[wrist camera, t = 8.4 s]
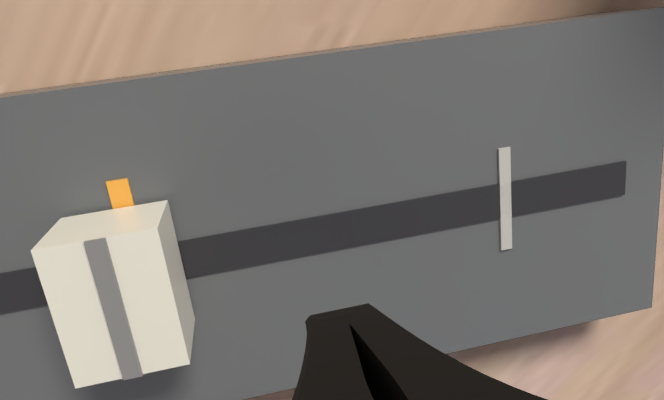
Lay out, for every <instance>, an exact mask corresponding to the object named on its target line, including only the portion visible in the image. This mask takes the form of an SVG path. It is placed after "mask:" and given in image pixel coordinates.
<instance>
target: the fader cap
mask: <svg viewBox="0 0 664 400" xmlns="http://www.w3.org/2000/svg"><path fill="white" fill-rule="evenodd" d="M31 254H32V257H33V260H34V263H35V266H36V269H37V272H38V275H39V278H40V281H41V284H42V288H43V291H44V294H45V297H46V300H47V303H48V306H49V309H50V312H51V315H52V318H53V321H54V325H55V328H56V331H57V334H58V337H59V340H60V343H61V346H62V349H63V352H64V355H65V358H66V362H67V365H68V368H69V371H70V374H71V377H72V380H73V383H74V386H75V389H76V388H81V387H85V386H90V385H95V384H99V383H104V382H109V381H113V380H118V379H123V380H128V379H133V378H137V377H142V376H143V374H146V373H151V372H156V371H160V370H165V369H170V368H174V367H179V366H184V365H189V364H190V360H191V351H192V342H193V333H194V324H195V316H194V312H193V308H192V303H191V299H190V295H189V290H188V286H187V282H186V277H185V273H184V269H183V264H182V260H181V256H180V251H179V247H178V242H177V238H176V234H175V229H174V225H173V221H172V216H171V212H170V208H169V203H168V200H164V201H158V202H152V203H146V204H140V205H134V206H129V207H123V208H117V209H111V210H105V211H99V212H93V213H87V214H81V215H75V216H69V217H63V218H60V219H59V220H58V221H57V223H56V224H55V225H54V226H53V227H52V228H51V229H50V230H49V231H48V232H47V233H46V234H45V235H44V237H43V238H42V239H41V240H40V241H39V242H38V243H37V244H36V245H35V246H34V247H33V248H32V249H31Z"/></svg>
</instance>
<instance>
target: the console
mask: <svg viewBox="0 0 664 400" xmlns="http://www.w3.org/2000/svg"><path fill="white" fill-rule="evenodd" d="M663 147H664V7H658V8H645V9H631V10H619V11H611V12H604V13H597V14H589V15H582V16H574V17H567V18H559V19H552V20H545V21H537V22H530V23H522V24H515V25H508V26H500V27H493V28H485V29H478V30H470V31H463V32H456V33H448V34H441V35H433V36H426V37H418V38H411V39H404V40H396V41H389V42H381V43H374V44H367V45H359V46H352V47H344V48H337V49H329V50H322V51H315V52H307V53H300V54H292V55H285V56H278V57H270V58H263V59H255V60H248V61H240V62H233V63H226V64H218V65H211V66H203V67H196V68H189V69H181V70H174V71H166V72H159V73H151V74H144V75H137V76H129V77H122V78H114V79H107V80H99V81H92V82H85V83H77V84H70V85H62V86H55V87H48V88H40V89H33V90H25V91H18V92H10V93H3V94H0V400H244V399H248V398H253V397H257V396H262V395H266V394H270V393H275V392H279V391H284V390H288V389H293V388H296V386H297V383H298V380H299V376H300V373H301V368H302V363H303V358H304V354H305V347H306V338H307V330H306V324H305V321H306V320H307V318H308V317H309V316H310V315H314V314H319V313H324V312H328V311H333V310H338V309H343V308H348V307H353V306H358V305H363V304H367V303H369V304H370V305H372V306H373V307H375V308H376V309H377V310H379V311H380V312H382V313H383V314H384V315H386V316H387V317H389V318H390V319H391V320H393V321H394V322H396V323H397V324H399V325H400V326H401V327H403V328H404V329H406V330H407V331H409V332H410V333H412V334H413V335H415V336H416V337H418V338H419V339H421V340H423V341H424V342H426V343H427V344H429V345H431V346H432V347H434V348H436V349H437V350H439V351H441V352H442V353H444V354H448V353H452V352H456V351H461V350H465V349H470V348H474V347H479V346H483V345H487V344H492V343H496V342H501V341H505V340H510V339H514V338H518V337H523V336H527V335H532V334H536V333H541V332H545V331H550V330H554V329H558V328H563V327H567V326H572V325H576V324H581V323H585V322H589V321H594V320H598V319H603V318H607V317H612V316H616V315H620V314H625V313H629V312H634V311H638V310H643V309H647V308H651V307H652V298H653V284H654V270H655V257H656V243H657V229H658V216H659V202H660V188H661V175H662V161H663ZM164 200H168V203H169V208H170V212H171V216H172V221H173V225H174V229H175V234H176V238H177V242H178V247H179V251H180V256H181V260H182V264H183V269H184V273H185V277H186V282H187V286H188V290H189V295H190V299H191V303H192V308H193V312H194V316H195V324H194V333H193V342H192V351H191V360H190V364H189V365H184V366H179V367H174V368H170V369H165V370H160V371H156V372H151V373H146V374H143V376H142V377H137V378H133V379H128V380H123V379H118V380H113V381H109V382H104V383H99V384H95V385H90V386H85V387H81V388H76V389H75V386H74V383H73V380H72V377H71V374H70V371H69V368H68V365H67V362H66V358H65V355H64V352H63V349H62V346H61V343H60V340H59V337H58V334H57V331H56V328H55V325H54V321H53V318H52V315H51V312H50V309H49V306H48V303H47V300H46V297H45V294H44V291H43V288H42V284H41V281H40V278H39V275H38V272H37V269H36V266H35V263H34V260H33V257H32V254H31V249H32V248H33V247H34V246H35V245H36V244H37V243H38V242H39V241H40V240H41V239H42V238H43V237H44V235H45V234H46V233H47V232H48V231H49V230H50V229H51V228H52V227H53V226H54V225H55V224H56V223H57V221H58V220H59V219H60V218H63V217H69V216H75V215H81V214H87V213H93V212H99V211H105V210H111V209H117V208H123V207H129V206H134V205H140V204H146V203H152V202H158V201H164Z"/></svg>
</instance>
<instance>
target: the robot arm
mask: <svg viewBox="0 0 664 400" xmlns="http://www.w3.org/2000/svg"><path fill="white" fill-rule="evenodd" d="M305 324H306V330H307V338H306V347H305V354H304V358H303V363H302V368H301V373H300V376H299V380H298V383H297V386H296V390H295V393H294V396H293V399H292V400H547V399H544V398H541V397H538V396H535V395H533V394H530V393H527V392H525V391H522V390H519V389H517V388H514V387H512V386H510V385H507V384H505V383H503V382H501V381H498V380H496V379H494V378H491V377H489V376H487V375H485V374H482V373H480V372H478V371H476V370H474V369H472V368H470V367H468V366H466V365H464V364H463V363H461V362H459V361H457V360H455V359H453V358H452V357H450V356H448V355H446V354H444V353H442V352H441V351H439V350H437V349H436V348H434V347H432V346H431V345H429V344H427V343H426V342H424V341H423V340H421V339H419V338H418V337H416V336H415V335H413V334H412V333H410V332H409V331H407V330H406V329H404V328H403V327H401V326H400V325H399V324H397V323H396V322H394V321H393V320H391V319H390V318H389V317H387V316H386V315H384V314H383V313H382V312H380V311H379V310H377V309H376V308H375V307H373V306H372V305H370V304H369V303H367V304H363V305H358V306H353V307H348V308H343V309H338V310H333V311H328V312H324V313H319V314H314V315H310V316H309V317H308V318H307V320H306V321H305Z"/></svg>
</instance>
